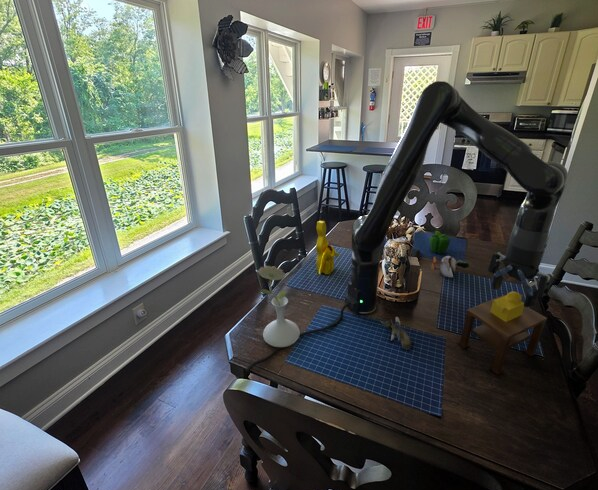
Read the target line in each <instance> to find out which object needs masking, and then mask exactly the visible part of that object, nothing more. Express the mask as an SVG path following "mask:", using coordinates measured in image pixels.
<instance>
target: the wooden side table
mask: <svg viewBox="0 0 598 490" xmlns="http://www.w3.org/2000/svg"><path fill="white" fill-rule="evenodd" d="M506 295H507V294H503V295H500V296H497V297H495V298H493V299H490V300H488V301H485V302H482V303H480V304H478V305H475V306H473V307H470V308H468V309H466V315H465V317H464V323H463V327H462V330H461V336H460V341H459V344H458V345H459V346H460V347H461V348H462V349H465V348H467V347H469V343H470V339H471V334H473V335H474V336H476V337H477V338H479V339H480V340H482V341H483V342H484V343H485V344H486V345H488V346H490V347H491V348H492V349H494V350H495V351H496V354H495V356H494V360H493V363H492V367H491V372H493V373H494V374H495V375H499V374H501V373H502V370H503V367H504V364H505V361H506V357H507V354H508V350H509V349H511V348H513V347H515V346H517V345H519V344H520V343H522V342H525V341H527V340H528V339H529V341H528V344H527V347H526V350H525V354H527V355H528V356H530V357H533V356H534V355H536V351H537V348H538V346H539V343H540V340H541V338H542V335H543V331H544V330H545V326H546V323H547V320H548V317H546V316H545V315H542V314H540V313H539V312H537V311H535V310H533V309H532V308H530V307H525V306H524V308H523V311H522V314H521V316H518V317H516V318H514V319H512V320H510V321H507V322H505V321H503V320H502V319H500V318H499V317H497V316H495V315H494V314H492V313H491V312H490V311H491V307H492V304H493V300H496V299H498V298H501V297H503V296H506ZM474 320H477V321H479V322H480V323H482V324H481V325H479V326H477V327H474V328H473V326H474ZM531 329H532V331H531V334H530V333H529V332H527V331H529V330H531Z"/></svg>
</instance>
